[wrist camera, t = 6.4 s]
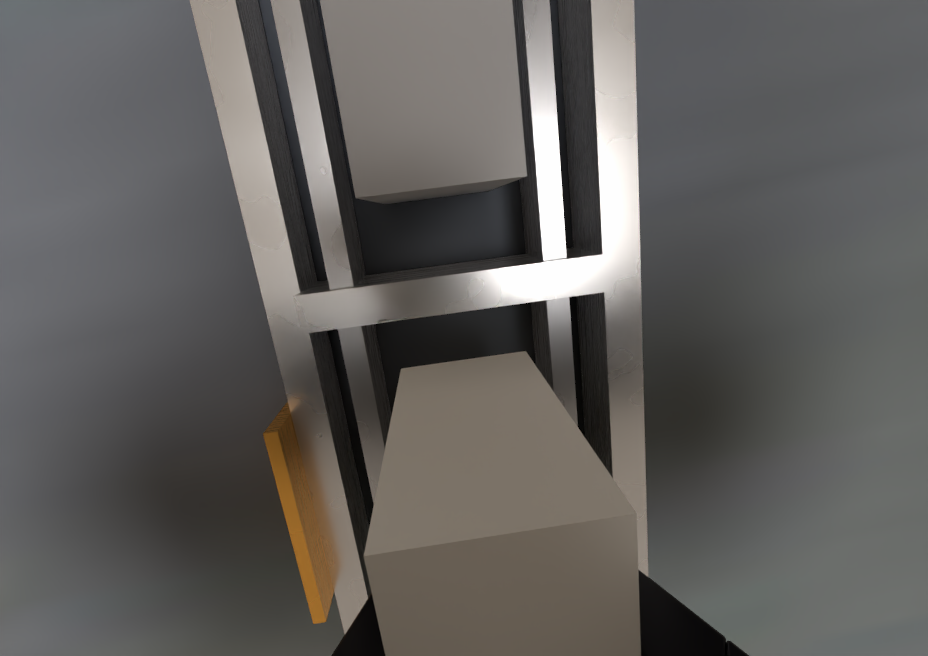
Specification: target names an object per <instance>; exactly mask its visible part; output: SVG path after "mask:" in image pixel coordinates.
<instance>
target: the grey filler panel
mask: <svg viewBox="0 0 928 656" xmlns="http://www.w3.org/2000/svg"><path fill="white" fill-rule="evenodd" d="M320 4H321V10H322V15H323V21H324V26H325V32H326V37H327V43H328V48H329V54H330V59H331V65H332V70H333V76H334V82H335V87H336V93H337V98H338V104H339V109H340V115H341V120H342V126H343V131H344V137H345V143H346V148H347V154H348V159H349V165H350V170H351V176H352V181H353V187H354V192H355V198H358V199H362V200H367V201H372V202H377V203H381V204H393V203H400V202H408V201H416V200H424V199H431V198H439V197H447V196H455V195H463V194H470V193H478V192H486V191H490V190H493V189H496V188H498V187H501V186H503V185H506V184H508V183H511V182H513V181H516V180H519V179H521V178H524V177H526V176H527V169H526V157H525V145H524V133H523V122H522V110H521V98H520V86H519V75H518V63H517V51H516V39H515V28H514V16H513V4H512V0H320Z"/></svg>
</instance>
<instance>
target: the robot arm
mask: <svg viewBox="0 0 928 656" xmlns="http://www.w3.org/2000/svg"><path fill="white" fill-rule="evenodd" d="M638 573H639V606H640V640H641V656H749V655H748V654H746V653H745V652H744V651H743V650H741V649H740V648H739V647H737V646H736V645H735V644H734V643H732V642H731V641H727V642H726V638H725V637H724V636H723V635H722V634H720V633H719V632H718V631H717V630H715V629H714V628H713V627H711V626H710V625H709V624H708V623H706V622H705V621H704V620H703V619H701V618H700V617H699V616H697V615H696V614H695V613H694V612H692V611H691V610H690V609H688V608H687V607H686V606H685V605H683V604H682V603H681V602H680V601H678V600H677V599H676V598H674V597H673V596H672V595H671V594H669V593H668V592H667V591H665V590H664V589H663V588H662V587H660V586H659V585H658V584H656V583H655V582H654V581H653V580H651V579H650V578H649V577H648V576H646V575H645V574H644V573H642V572H641V571H640V570H639V569H638ZM332 656H385V652H384V647H383V642H382V638H381V633H380V629H379V624H378V620H377V615H376V610H375V606H374V601H373V597H372V593H371V594H370V596H369V598H368V599H367V601H366V602H365V604H364V605H363V607H362V609H361V610H360V612H359V613H358V615H357V616H356V618H355V620H354V621H353V623H352V624H351V626H350V627H349V629H348V631H347V632H346V634H345V635H344V637H343V638H342V640H341V641H340V643H339V645H338V646H337V648H336V649H335V651H334V652H333V654H332Z"/></svg>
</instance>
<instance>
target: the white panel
mask: <svg viewBox="0 0 928 656" xmlns="http://www.w3.org/2000/svg"><path fill="white" fill-rule="evenodd" d="M364 560H365V565H366V569H367V574H368V578H369V583H370V587H371V592H372V597H373V601H374V606H375V610H376V615H377V620H378V624H379V629H380V633H381V638H382V642H383V647H384V652H385V656H641V640H640V606H639V573H638V540H637V513H636V512H635V510H634V509H633V507H632V506H631V504H630V503H629V501H628V500H627V499H626V497H625V496H624V494H623V493H622V491H621V490H620V488H619V487H618V485H617V484H616V482H615V481H614V479H613V478H612V477H611V475H610V474H609V472H608V471H607V469H606V468H605V466H604V465H603V463H602V462H601V460H600V459H599V458H598V456H597V455H596V453H595V452H594V450H593V449H592V447H591V446H590V444H589V443H588V441H587V440H586V438H585V437H584V436H583V434H582V433H581V431H580V430H579V428H578V427H577V425H576V424H575V422H574V421H573V419H572V418H571V417H570V415H569V414H568V412H567V411H566V409H565V408H564V406H563V405H562V403H561V402H560V400H559V399H558V398H557V396H556V395H555V393H554V392H553V390H552V389H551V387H550V386H549V384H548V383H547V381H546V380H545V378H544V377H543V376H542V374H541V373H540V371H539V370H538V368H537V367H536V365H535V364H534V362H533V361H532V359H531V358H530V357H529V355H528V354H527V352H526V351H522V352H515V353H508V354H501V355H494V356H486V357H479V358H472V359H465V360H458V361H451V362H444V363H437V364H430V365H423V366H416V367H409V368H402V369H401V371H400V376H399V381H398V386H397V391H396V396H395V401H394V406H393V411H392V416H391V421H390V426H389V431H388V436H387V441H386V446H385V451H384V456H383V461H382V466H381V471H380V476H379V482H378V487H377V492H376V497H375V502H374V507H373V512H372V517H371V522H370V527H369V532H368V537H367V542H366V547H365V552H364Z"/></svg>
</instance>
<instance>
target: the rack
mask: <svg viewBox="0 0 928 656" xmlns="http://www.w3.org/2000/svg"><path fill="white" fill-rule="evenodd" d="M190 4H191V8H192V12H193V16H194V20H195V24H196V29H197V33H198V37H199V41H200V45H201V49H202V53H203V57H204V61H205V65H206V69H207V73H208V78H209V82H210V86H211V90H212V94H213V98H214V102H215V106H216V110H217V114H218V118H219V122H220V127H221V131H222V135H223V139H224V143H225V147H226V151H227V155H228V159H229V163H230V167H231V172H232V176H233V180H234V184H235V188H236V192H237V196H238V200H239V204H240V208H241V212H242V216H243V221H244V225H245V229H246V233H247V237H248V241H249V245H250V249H251V253H252V257H253V261H254V265H255V270H256V274H257V278H258V282H259V286H260V290H261V294H262V298H263V302H264V306H265V310H266V315H267V319H268V323H269V327H270V331H271V335H272V339H273V343H274V347H275V351H276V355H277V359H278V364H279V368H280V372H281V376H282V380H283V384H284V388H285V392H286V396H287V400H288V402H287V403H286V404H285V406H284V407H283V408H282V410H281V411H280V412H279V413H278V415H277V416H276V417H275V419H274V420H273V421H272V423H271V424H270V425H269V426H268V428H267V429H266V430H265V432H264V433H263V436H264V440H265V443H266V447H267V451H268V455H269V458H270V462H271V466H272V470H273V473H274V477H275V481H276V485H277V489H278V492H279V496H280V500H281V504H282V507H283V511H284V515H285V519H286V522H287V526H288V530H289V534H290V538H291V541H292V545H293V549H294V553H295V556H296V560H297V564H298V568H299V571H300V575H301V579H302V583H303V587H304V590H305V594H306V598H307V602H308V605H309V609H310V613H311V617H312V620H313V624H316V623H323V622H326V621H327V617H328V613H329V609H330V605H331V601H332V597H333V593H334V592H335V596H336V600H337V605H338V609H339V613H340V617H341V621H342V625H343V629H344V633H345V634H346V632H347V631H348V629H349V627H350V626H351V624H352V623H353V621H354V620H355V618H356V616H357V615H358V613H359V612H360V610H361V609H362V607H363V605H364V604H365V602H366V601H367V599H368V598H369V596H370V594H371V593H372V592H371V587H370V583H369V578H368V574H367V569H366V565H365V560H364V552H365V547H366V542H367V537H368V532H369V524H368V519H367V515H366V510H365V505H364V500H363V496H362V491H361V486H360V481H359V477H358V472H357V467H356V462H355V458H354V453H353V448H352V443H351V439H350V434H349V429H348V424H347V420H346V415H345V410H344V405H343V401H342V396H341V391H340V386H339V382H338V377H337V372H336V367H335V363H334V358H333V353H332V349H331V344H330V339H329V334H328V330H335V329H338V332H339V337H340V342H341V347H342V352H343V357H344V362H345V367H346V371H347V376H348V381H349V386H350V391H351V396H352V401H353V406H354V411H355V415H356V420H357V425H358V430H359V435H360V440H361V445H362V450H363V455H364V459H365V464H366V469H367V474H368V479H369V484H370V489H371V494H372V498H373V503H374V502H375V497H376V492H377V487H378V482H379V476H380V471H381V466H382V461H383V456H384V451H385V446H386V441H387V436H388V431H389V426H390V421H391V416H392V414H391V409H390V403H389V398H388V392H387V387H386V381H385V376H384V370H383V365H382V359H381V354H380V348H379V343H378V337H377V332H376V326H375V324H378V323H385V322H393V321H400V320H407V319H414V318H421V317H429V316H436V315H443V314H450V313H458V312H465V311H472V310H479V309H487V308H494V307H501V306H508V305H515V304H523V303H530V304H531V316H532V327H533V338H534V349H535V360H536V367H537V368H538V370H539V371H540V373H541V374H542V376H543V377H544V378H545V380H546V381H547V383H548V384H549V386H550V387H551V389H552V390H553V392H554V393H555V395H556V396H557V398H558V399H559V400H560V402H561V403H562V405H563V406H564V408H565V409H566V411H567V412H568V414H569V415H570V417H571V418H572V419H573V421H574V422H575V424H576V425H577V427H578V421H577V406H576V391H575V376H574V361H573V346H572V331H571V315H570V300H569V297H573V296H576V302H577V318H578V334H579V350H580V366H581V382H582V398H583V414H584V430H585V438H586V440H587V441H588V443H589V444H590V446H591V447H592V449H593V450H594V452H595V453H596V455H597V456H598V458H599V459H600V460H601V462H602V463H603V465H604V466H605V468H606V469H607V471H608V472H609V474H610V475H611V477H612V478H613V479H614V481H615V482H616V484H617V485H618V487H619V488H620V490H621V491H622V493H623V494H624V496H625V497H626V499H627V500H628V501H629V503H630V504H631V506H632V507H633V509H634V510H635V512H636V513H637V540H638V569H639V570H640V571H641V572H642V573H644V574H645V575H646V576H648V545H647V504H646V464H645V423H644V383H643V342H642V302H641V262H640V221H639V181H638V140H637V100H636V59H635V19H634V0H558V14H559V30H560V46H561V62H562V78H563V94H564V110H565V126H566V142H567V158H568V174H569V190H570V206H571V222H572V238H573V248H566V240H565V225H564V210H563V195H562V180H561V165H560V150H559V135H558V120H557V105H556V90H555V75H554V60H553V45H552V30H551V15H550V0H512V4H513V16H514V28H515V39H516V51H517V63H518V75H519V86H520V98H521V110H522V122H523V133H524V145H525V157H526V169H527V176H526V177H524V178H521V179H519V181H520V193H521V204H522V215H523V226H524V237H525V249H526V254H521V255H513V256H506V257H498V258H491V259H484V260H476V261H469V262H461V263H454V264H446V265H439V266H431V267H424V268H417V269H409V270H402V271H394V272H387V273H379V274H372V275H366V271H365V266H364V260H363V255H362V249H361V244H360V239H359V233H358V228H357V222H356V217H355V211H354V206H353V200H352V195H351V189H350V184H349V178H348V173H347V167H346V162H345V156H344V151H343V145H342V140H341V134H340V129H339V123H338V118H337V112H336V107H335V101H334V96H333V90H332V85H331V79H330V74H329V68H328V63H327V57H326V52H325V46H324V41H323V35H322V30H321V24H320V19H319V13H318V8H317V2H316V0H271V5H272V10H273V15H274V20H275V25H276V30H277V34H278V39H279V44H280V49H281V54H282V59H283V64H284V69H285V73H286V78H287V83H288V88H289V93H290V98H291V103H292V108H293V113H294V117H295V122H296V127H297V132H298V137H299V142H300V147H301V152H302V157H303V161H304V166H305V171H306V176H307V181H308V186H309V191H310V196H311V200H312V205H313V210H314V215H315V220H316V225H317V230H318V235H319V240H320V244H321V249H322V254H323V259H324V264H325V269H326V274H327V279H328V280H327V281H320V282H317V277H316V273H315V268H314V263H313V258H312V254H311V249H310V244H309V239H308V235H307V230H306V225H305V220H304V216H303V211H302V206H301V202H300V197H299V192H298V187H297V183H296V178H295V173H294V168H293V164H292V159H291V154H290V149H289V145H288V140H287V135H286V130H285V126H284V121H283V116H282V111H281V107H280V102H279V97H278V92H277V88H276V83H275V78H274V73H273V69H272V64H271V59H270V55H269V50H268V45H267V40H266V36H265V31H264V26H263V21H262V17H261V12H260V7H259V2H258V0H190Z"/></svg>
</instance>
